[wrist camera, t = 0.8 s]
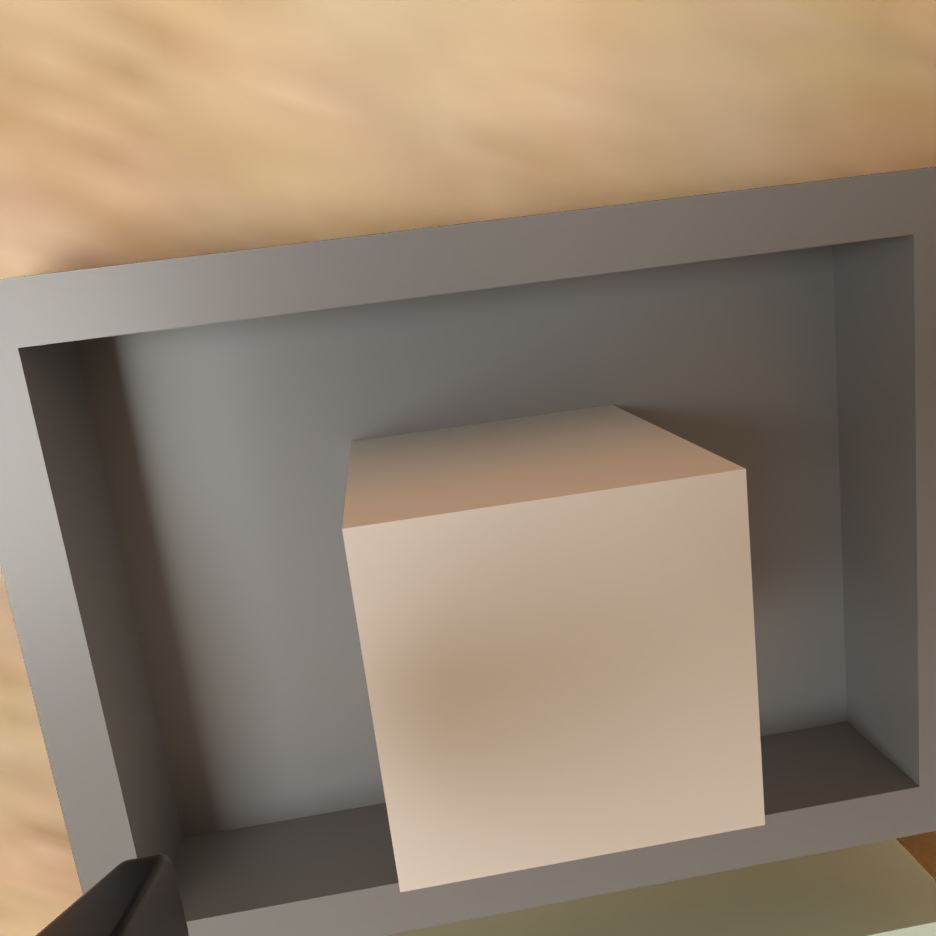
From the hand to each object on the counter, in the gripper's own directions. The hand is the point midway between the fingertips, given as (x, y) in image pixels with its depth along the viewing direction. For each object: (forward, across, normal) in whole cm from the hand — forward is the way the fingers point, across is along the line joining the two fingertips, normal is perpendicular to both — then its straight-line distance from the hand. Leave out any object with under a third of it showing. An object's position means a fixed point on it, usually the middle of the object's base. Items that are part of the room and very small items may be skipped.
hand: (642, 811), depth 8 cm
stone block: (+9, 0, 0) cm, 9 cm away
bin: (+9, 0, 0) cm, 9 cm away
